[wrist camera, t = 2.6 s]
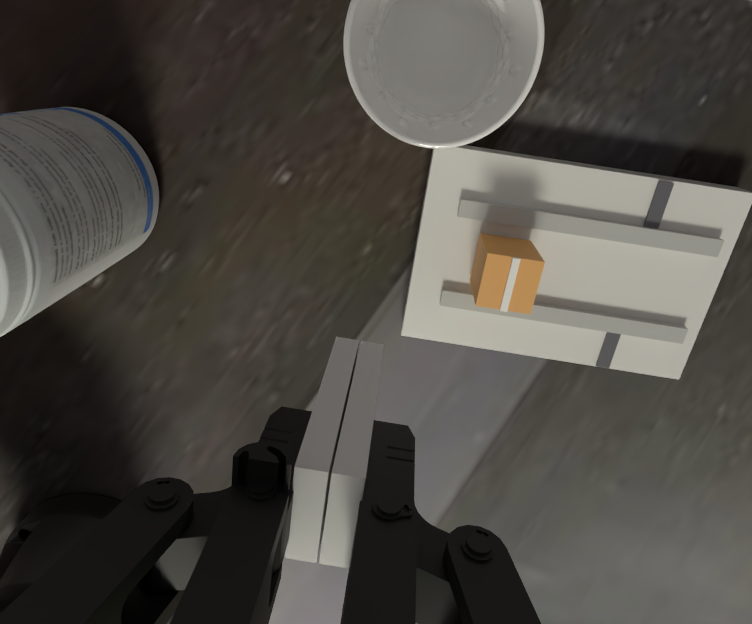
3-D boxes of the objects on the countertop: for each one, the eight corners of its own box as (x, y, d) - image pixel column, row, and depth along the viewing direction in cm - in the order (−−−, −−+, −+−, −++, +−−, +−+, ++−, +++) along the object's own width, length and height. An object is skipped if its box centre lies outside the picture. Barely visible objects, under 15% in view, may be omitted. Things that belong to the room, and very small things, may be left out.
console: (402, 322, 38) (400, 339, 35) (434, 140, 33) (434, 145, 31) (666, 364, 38) (682, 384, 35) (737, 187, 33) (761, 195, 30)
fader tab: (469, 280, 34) (475, 307, 30) (480, 232, 33) (488, 254, 29) (518, 288, 34) (531, 315, 30) (531, 240, 33) (545, 263, 29)
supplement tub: (55, 71, 33) (-197, 70, 20) (192, 171, 35) (48, 233, 21) (-4, 200, 36) (-252, 275, 23) (124, 285, 38) (-38, 401, 25)
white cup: (480, 143, 33) (503, 170, 24) (351, 106, 33) (324, 119, 23) (528, -5, 30) (577, -40, 21) (386, -47, 29) (371, -101, 20)
